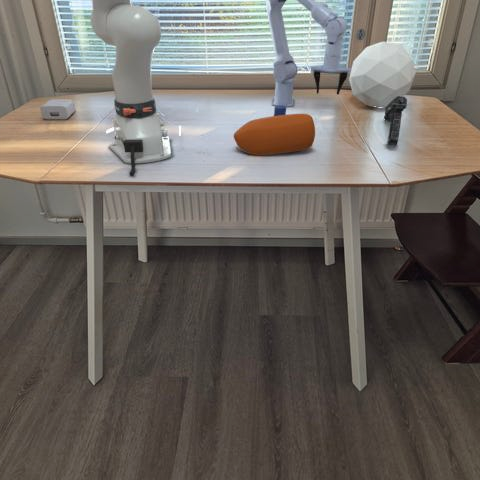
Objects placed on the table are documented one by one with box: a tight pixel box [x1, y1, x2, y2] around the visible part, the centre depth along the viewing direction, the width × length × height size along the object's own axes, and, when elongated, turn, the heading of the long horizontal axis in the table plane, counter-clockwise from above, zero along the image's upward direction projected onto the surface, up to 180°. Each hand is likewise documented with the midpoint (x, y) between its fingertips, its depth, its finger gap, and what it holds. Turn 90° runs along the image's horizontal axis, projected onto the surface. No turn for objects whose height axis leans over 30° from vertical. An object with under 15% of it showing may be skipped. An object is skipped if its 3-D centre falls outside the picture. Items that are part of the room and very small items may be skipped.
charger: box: [39, 98, 76, 120], centre depth 153 cm, size 5×9×15 cm
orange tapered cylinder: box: [233, 113, 316, 156], centre depth 124 cm, size 12×11×25 cm
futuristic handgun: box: [383, 96, 408, 147], centre depth 138 cm, size 4×29×15 cm, turn 164°
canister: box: [273, 105, 287, 116], centre depth 150 cm, size 4×4×5 cm
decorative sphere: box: [348, 41, 417, 110], centre depth 160 cm, size 24×25×25 cm
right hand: (327, 93), depth 156 cm, fingers open, 7 cm apart
